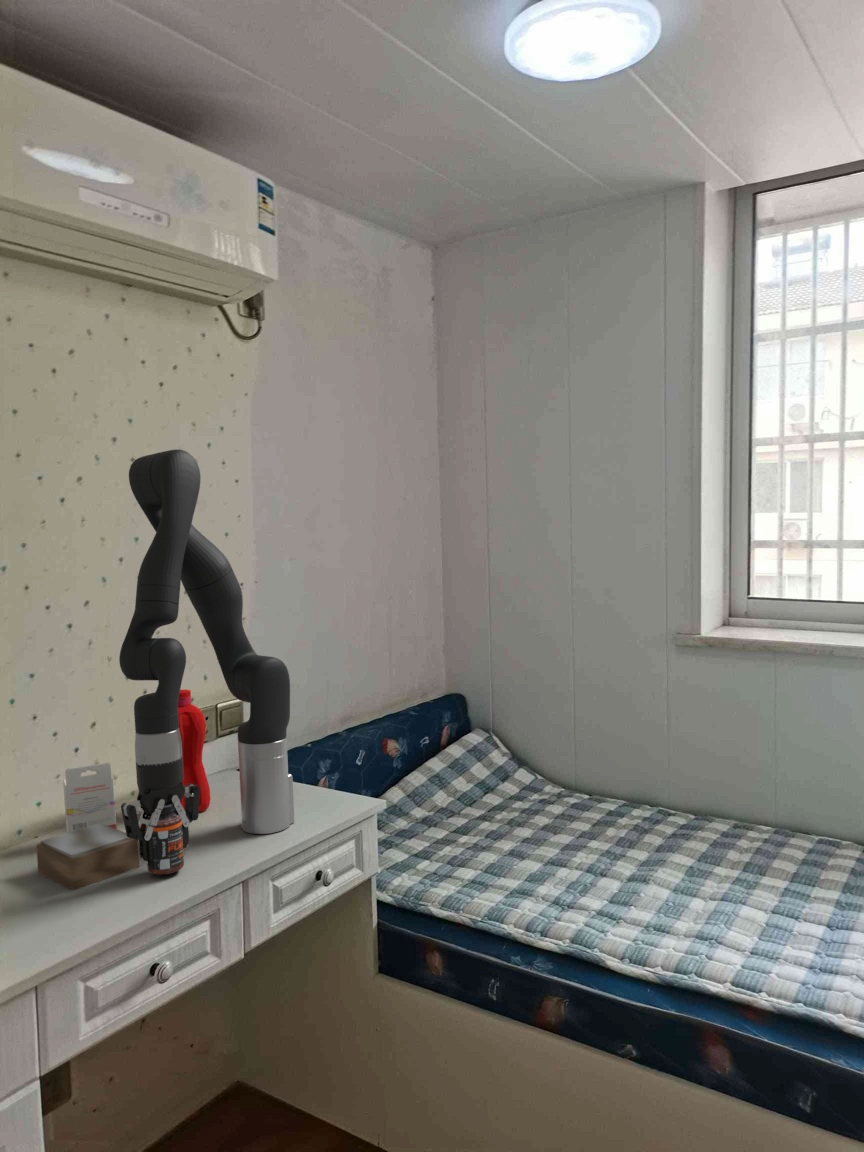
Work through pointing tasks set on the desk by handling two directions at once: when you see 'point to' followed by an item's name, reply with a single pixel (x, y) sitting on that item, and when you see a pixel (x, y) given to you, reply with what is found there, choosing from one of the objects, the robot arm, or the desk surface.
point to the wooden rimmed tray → (87, 856)
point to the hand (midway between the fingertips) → (165, 853)
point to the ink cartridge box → (89, 797)
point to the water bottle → (193, 747)
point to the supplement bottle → (167, 843)
